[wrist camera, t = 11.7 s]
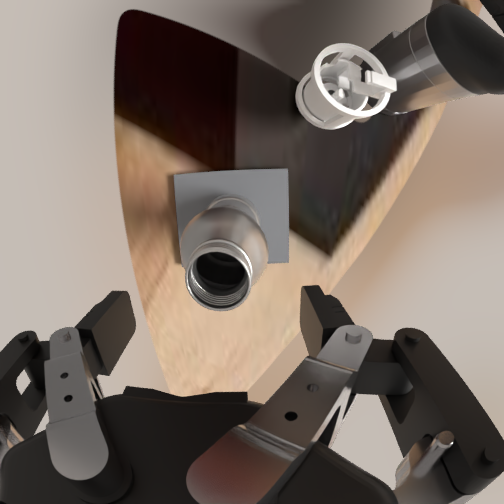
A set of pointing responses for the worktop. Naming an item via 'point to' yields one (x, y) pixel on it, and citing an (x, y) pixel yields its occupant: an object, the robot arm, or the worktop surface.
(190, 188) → the board
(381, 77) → the white cylindrical piece
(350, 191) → the worktop surface
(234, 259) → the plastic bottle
